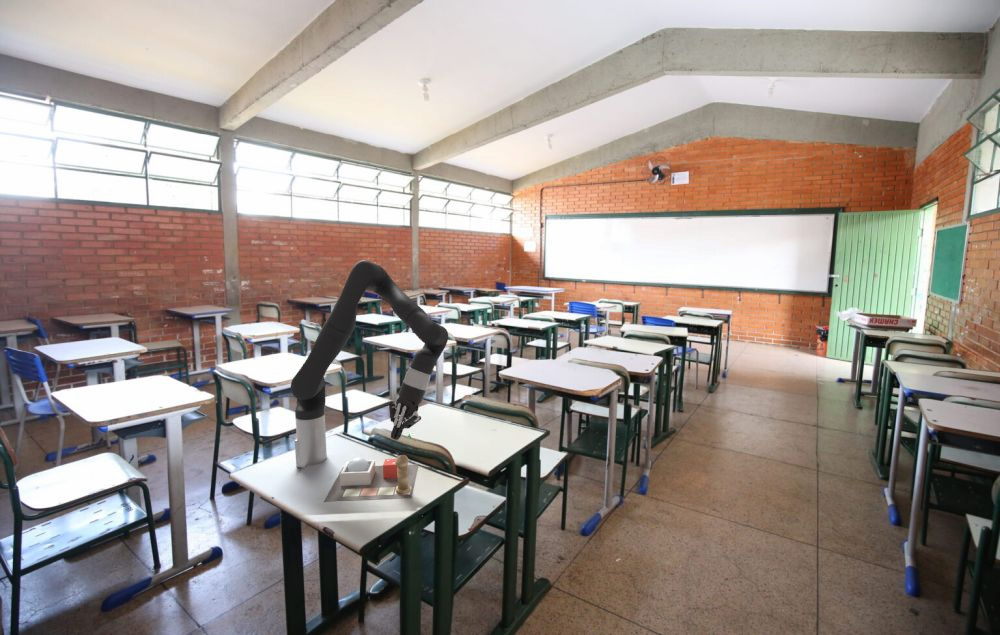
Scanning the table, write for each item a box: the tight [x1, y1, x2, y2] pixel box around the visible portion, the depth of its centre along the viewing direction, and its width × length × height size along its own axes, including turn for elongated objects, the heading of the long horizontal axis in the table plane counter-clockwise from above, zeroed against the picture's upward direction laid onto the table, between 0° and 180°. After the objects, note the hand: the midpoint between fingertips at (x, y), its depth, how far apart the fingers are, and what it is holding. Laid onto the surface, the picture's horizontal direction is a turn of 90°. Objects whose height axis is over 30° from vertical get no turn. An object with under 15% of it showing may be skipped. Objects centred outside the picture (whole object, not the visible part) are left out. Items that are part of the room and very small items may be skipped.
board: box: [323, 464, 419, 503], centre depth 146 cm, size 25×22×2 cm
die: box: [382, 458, 398, 479], centre depth 150 cm, size 4×4×4 cm
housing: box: [339, 459, 376, 486], centre depth 148 cm, size 9×9×4 cm
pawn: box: [395, 454, 410, 494], centre depth 140 cm, size 4×4×11 cm
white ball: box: [348, 456, 369, 472], centre depth 148 cm, size 6×6×6 cm
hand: (394, 438), depth 142 cm, fingers closed
